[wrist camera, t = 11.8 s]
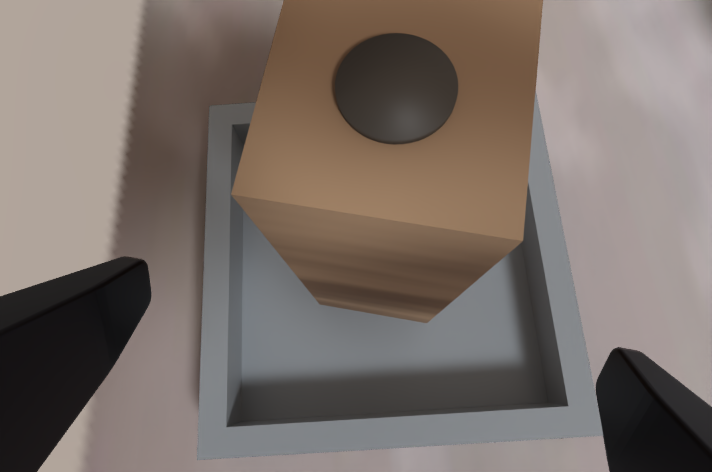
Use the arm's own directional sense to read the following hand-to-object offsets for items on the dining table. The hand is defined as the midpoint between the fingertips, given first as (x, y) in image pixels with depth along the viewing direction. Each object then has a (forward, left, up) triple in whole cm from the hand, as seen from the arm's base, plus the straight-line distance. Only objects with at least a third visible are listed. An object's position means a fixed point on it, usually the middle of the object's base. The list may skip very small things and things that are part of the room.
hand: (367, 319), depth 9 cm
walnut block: (+3, -1, -10) cm, 11 cm away
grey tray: (+3, -1, -11) cm, 11 cm away
